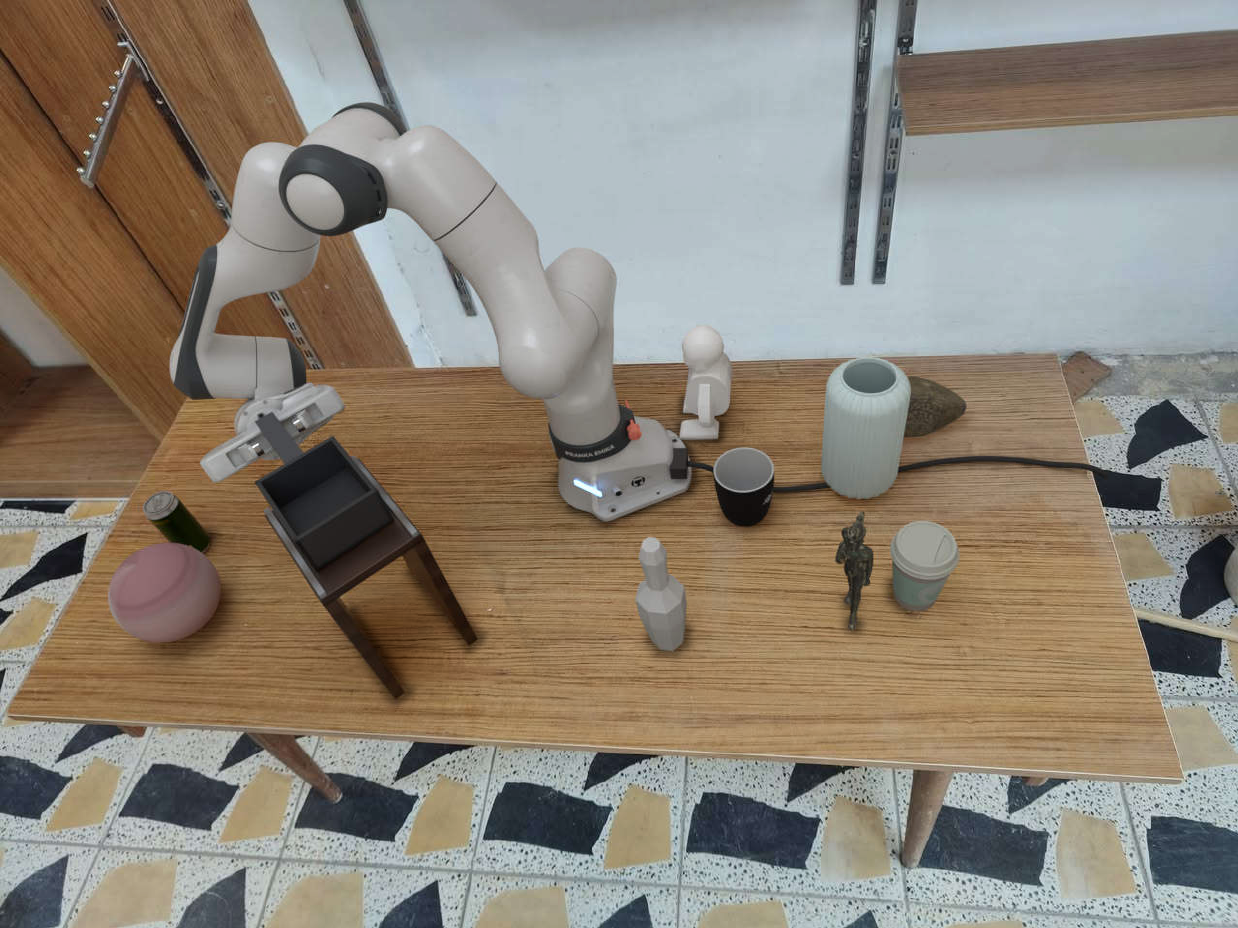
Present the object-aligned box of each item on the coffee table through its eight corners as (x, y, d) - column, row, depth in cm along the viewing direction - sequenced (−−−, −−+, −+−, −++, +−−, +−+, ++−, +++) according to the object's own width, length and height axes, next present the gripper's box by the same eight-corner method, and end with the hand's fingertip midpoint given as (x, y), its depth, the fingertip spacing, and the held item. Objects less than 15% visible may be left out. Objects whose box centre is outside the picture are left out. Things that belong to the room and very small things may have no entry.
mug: (770, 537, 124) (769, 495, 117) (712, 530, 127) (708, 488, 119) (780, 478, 132) (780, 435, 124) (725, 472, 134) (722, 430, 127)
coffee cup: (911, 630, 111) (922, 581, 102) (870, 586, 116) (877, 535, 107) (960, 601, 113) (976, 551, 104) (918, 558, 118) (929, 507, 109)
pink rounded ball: (143, 602, 133) (86, 548, 122) (233, 564, 136) (186, 508, 125) (145, 676, 124) (84, 625, 113) (243, 634, 126) (192, 580, 115)
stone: (951, 398, 138) (959, 363, 132) (969, 436, 132) (978, 400, 126) (850, 412, 139) (853, 377, 133) (863, 449, 133) (867, 415, 127)
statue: (828, 632, 112) (835, 547, 98) (832, 593, 116) (840, 506, 102) (863, 638, 111) (876, 552, 96) (866, 598, 115) (880, 511, 100)
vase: (812, 498, 128) (818, 396, 112) (829, 446, 135) (836, 342, 118) (888, 514, 124) (905, 410, 108) (901, 459, 131) (919, 354, 114)
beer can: (212, 552, 139) (174, 508, 130) (181, 563, 138) (140, 520, 129) (212, 529, 142) (175, 485, 133) (181, 540, 141) (142, 496, 133)
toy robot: (685, 391, 148) (675, 302, 133) (735, 391, 146) (730, 301, 132) (677, 448, 139) (666, 359, 125) (730, 448, 137) (725, 359, 123)
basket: (394, 520, 102) (377, 489, 98) (316, 571, 98) (294, 542, 94) (317, 425, 116) (299, 395, 112) (246, 467, 113) (224, 437, 108)
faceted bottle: (676, 663, 112) (660, 573, 96) (637, 644, 115) (615, 554, 99) (698, 627, 116) (686, 534, 100) (660, 610, 119) (641, 517, 102)
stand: (478, 639, 120) (419, 529, 100) (395, 699, 115) (316, 597, 95) (419, 566, 130) (356, 453, 111) (342, 618, 126) (261, 511, 106)
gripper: (189, 449, 115) (189, 460, 103) (319, 376, 122) (333, 378, 110) (216, 485, 118) (219, 501, 105) (342, 412, 124) (359, 418, 112)
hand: (279, 437), depth 108 cm, fingers open, 5 cm apart
